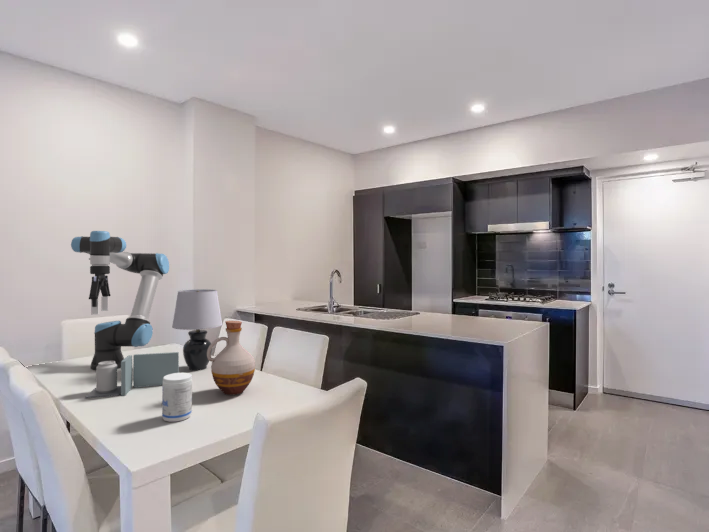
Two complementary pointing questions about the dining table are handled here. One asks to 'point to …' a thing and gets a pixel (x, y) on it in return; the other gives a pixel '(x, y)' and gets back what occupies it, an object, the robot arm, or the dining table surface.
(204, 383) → the dining table surface
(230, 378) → the jug
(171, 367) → the screen
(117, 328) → the robot arm
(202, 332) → the lamp
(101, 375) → the can
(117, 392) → the coaster
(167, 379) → the supplement tub
